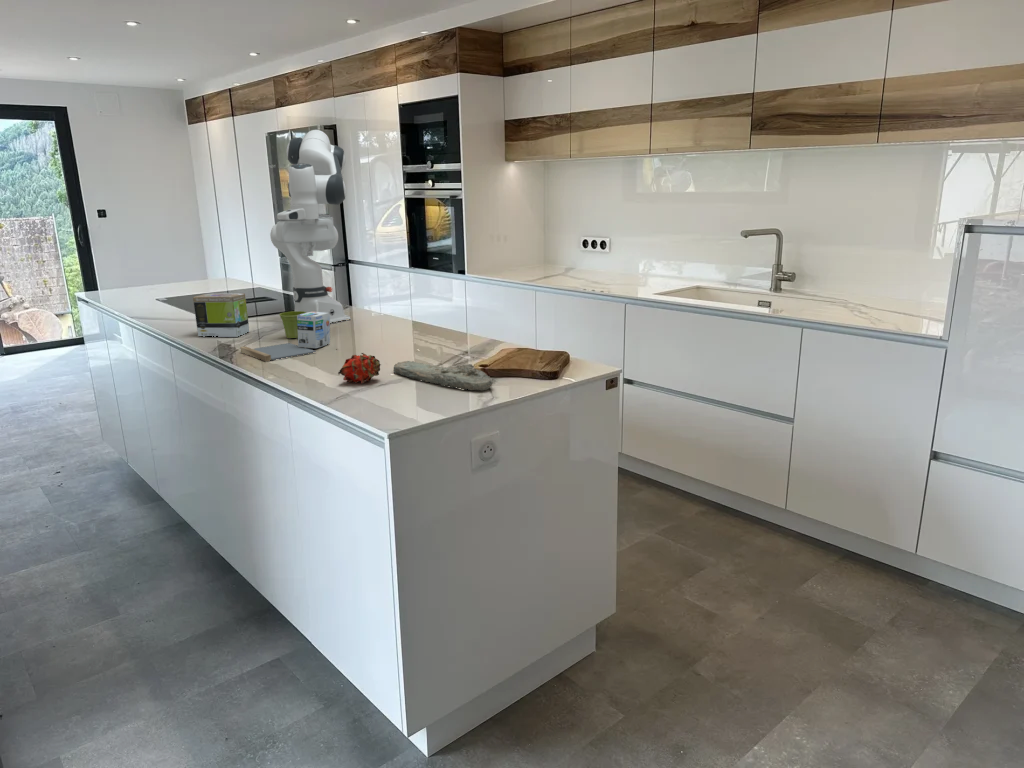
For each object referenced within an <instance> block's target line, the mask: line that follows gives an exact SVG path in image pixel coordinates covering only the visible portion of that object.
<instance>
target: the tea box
mask: <svg viewBox="0 0 1024 768" xmlns="http://www.w3.org/2000/svg"><path fill="white" fill-rule="evenodd" d="M192 298H193V299H192V300H193V308H194V314H195V315H194V316H195V322H196V330H197V336H203V337H202V338H206V337H205V336H212V337H211V338H239V337H241V336H240V335H242V336H244V335H246V334H245V333H247V332H249V333H250V326H249V316H248V308H247V307H248V305H247V300H246V293H243V292H242V293H241V292H240V293H239V292H237V293H235V292H234V293H230V292H229V293H224V292H223V293H204V294H201V295H196V296H193V297H192ZM243 334H244V335H243ZM247 334H248V333H247ZM213 336H214V337H213ZM216 336H218V337H216ZM238 336H239V337H238Z"/></svg>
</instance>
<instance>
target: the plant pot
mask: <svg viewBox="0 0 1024 768" xmlns="http://www.w3.org/2000/svg"><path fill="white" fill-rule="evenodd" d="M304 313H307V312H303V311H295V310H293V311H286V312H285V311H283V312H280V313H278V314H279V316H280V319H281V322H282V325H283V328H284V332H285V333H284V334H285V337H286V339H288V338H296V339H298V326H297V315H300V314H304Z"/></svg>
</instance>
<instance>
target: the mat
mask: <svg viewBox="0 0 1024 768" xmlns="http://www.w3.org/2000/svg"><path fill="white" fill-rule="evenodd" d="M253 349H254V350H257V351H260V352H263V353H266V354H269V355H271V360H273V361H277V360H276V359H279V360H282V359H281V358H285V359H287V358H286V357H290V358H292V357H291V356H296V357H298V356H297V355H302V356H304V355H303V354H307V355H309V354H308V353H313V352H316V353H317V351H316V350H313V349H312V348H304V347H298V344H297V345H296V344H293V343H291V342H286V343H280V344H275V345H274V344H273V345H269V346H262V347H256V348H253ZM313 354H314V353H313Z"/></svg>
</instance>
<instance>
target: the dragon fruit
mask: <svg viewBox="0 0 1024 768" xmlns="http://www.w3.org/2000/svg"><path fill="white" fill-rule="evenodd" d="M381 366H382V364H381V363H380V360H379V359H378V358H376V356H375V355H371V354H368V355H367V354H365V353H364V352H361V353H360V354H359V355H356V354H352V355H351V357H350V358H346V359H345V361H344V364H343V365H342V367H341V368H340V370H339V371H338V373H337V374H338V375H340V374H341V376H344V377H343V381H346V383H352V382H356V383H358V382H360V384H361V385H362V384H364V383H366V382H371V381H372V378H373V377H375V376H376V377H377V376H379V375H380V373H379V372H380V371H381Z"/></svg>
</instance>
